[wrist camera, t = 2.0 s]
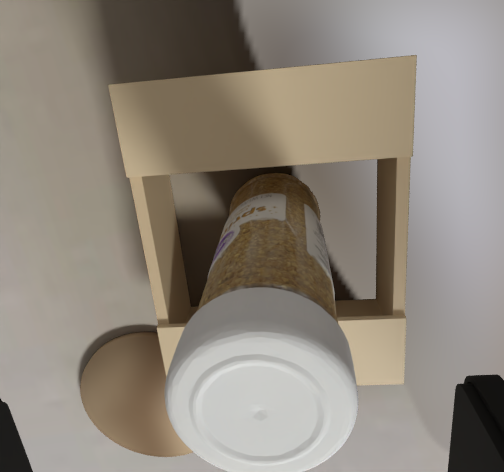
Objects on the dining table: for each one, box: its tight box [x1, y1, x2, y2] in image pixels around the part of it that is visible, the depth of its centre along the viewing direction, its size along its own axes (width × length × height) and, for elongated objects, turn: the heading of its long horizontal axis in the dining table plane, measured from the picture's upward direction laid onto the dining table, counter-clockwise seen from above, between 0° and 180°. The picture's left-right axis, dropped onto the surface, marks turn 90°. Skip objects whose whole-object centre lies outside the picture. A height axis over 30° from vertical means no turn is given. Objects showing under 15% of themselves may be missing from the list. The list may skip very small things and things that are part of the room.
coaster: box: [80, 332, 193, 457], centre depth 27 cm, size 9×9×1 cm
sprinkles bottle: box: [164, 173, 358, 472], centre depth 16 cm, size 5×5×13 cm
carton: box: [108, 55, 417, 385], centre depth 21 cm, size 11×14×4 cm
